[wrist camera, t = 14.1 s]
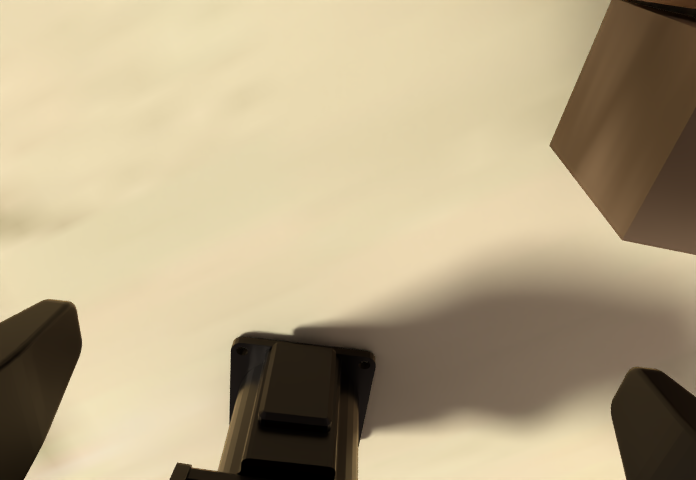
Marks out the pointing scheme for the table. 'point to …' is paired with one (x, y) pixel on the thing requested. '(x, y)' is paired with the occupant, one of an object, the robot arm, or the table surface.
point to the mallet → (637, 125)
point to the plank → (675, 2)
